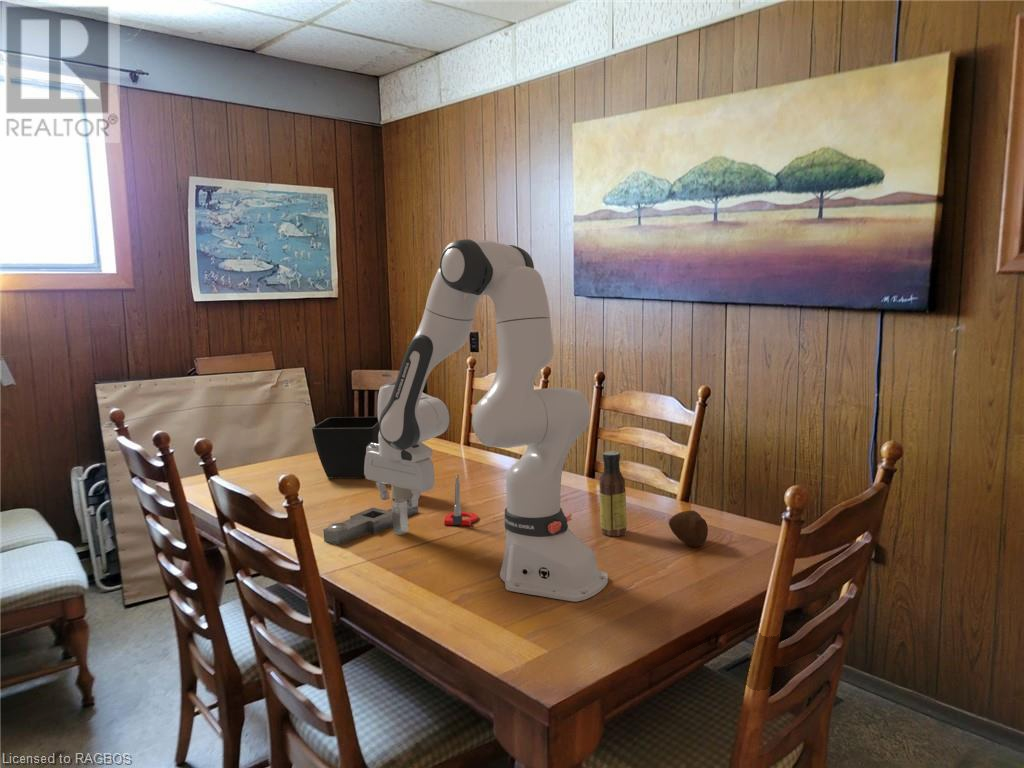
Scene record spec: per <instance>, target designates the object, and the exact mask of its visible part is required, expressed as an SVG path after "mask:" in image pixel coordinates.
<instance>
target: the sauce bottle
mask: <svg viewBox="0 0 1024 768" xmlns="http://www.w3.org/2000/svg"><path fill="white" fill-rule="evenodd" d="M602 459H603V472H602V474H601V476H600V478H599V510H600V511H599V512H600V513H599V514H600V515H599V516H600V517H599V519H600V520H599V521H600V530H601V532H602V534H603V535H605V536H609V537H621V536H624V535H625V534H626V533H627V526H628V522H627V496H626V495H627V491H626V483H625V478H624V477H623V474H622V472H621V467H620V459H621V453H620V452H619V451H614V450H608V451H604V452H603V453H602Z"/></svg>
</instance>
